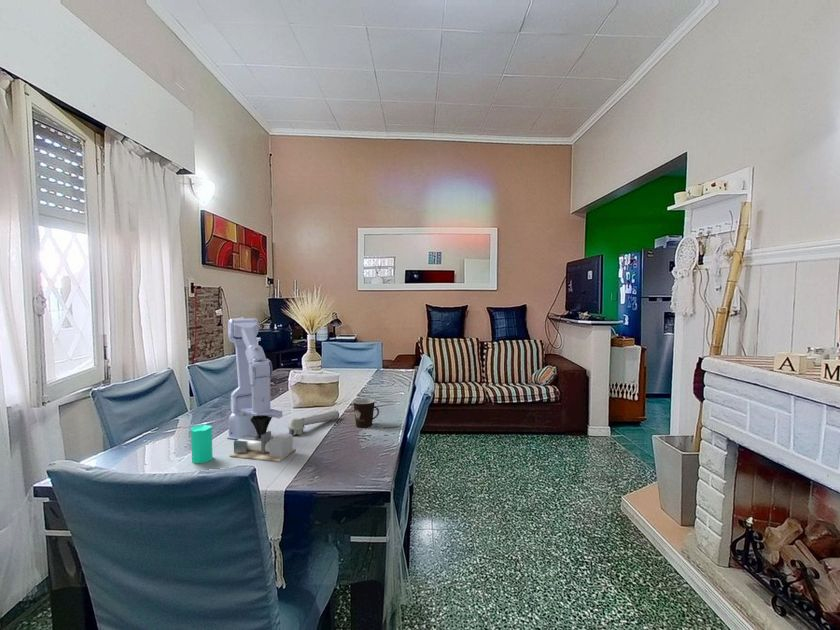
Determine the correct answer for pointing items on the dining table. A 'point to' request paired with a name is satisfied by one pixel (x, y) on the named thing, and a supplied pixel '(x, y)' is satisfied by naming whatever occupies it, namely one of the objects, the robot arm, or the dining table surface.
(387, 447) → the dining table surface
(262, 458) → the board
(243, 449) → the grey parallel plates
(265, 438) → the tube
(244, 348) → the robot arm
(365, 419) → the coffee mug
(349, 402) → the dining table surface
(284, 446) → the socket
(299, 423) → the grey capped rod
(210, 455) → the candle
